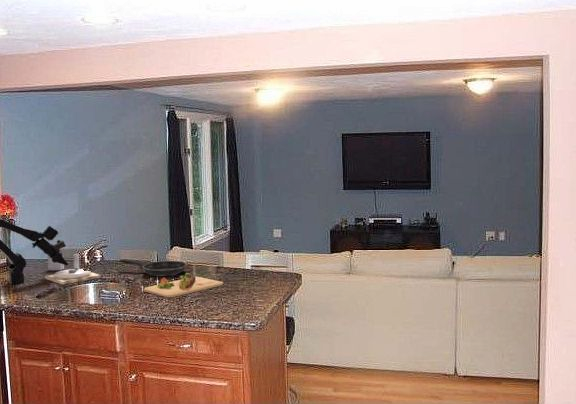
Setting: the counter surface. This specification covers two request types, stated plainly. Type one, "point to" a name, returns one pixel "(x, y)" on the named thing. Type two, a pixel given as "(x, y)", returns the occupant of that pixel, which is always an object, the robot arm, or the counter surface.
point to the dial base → (66, 281)
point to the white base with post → (72, 271)
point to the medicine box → (54, 265)
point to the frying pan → (159, 267)
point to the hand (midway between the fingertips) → (67, 264)
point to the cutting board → (182, 286)
